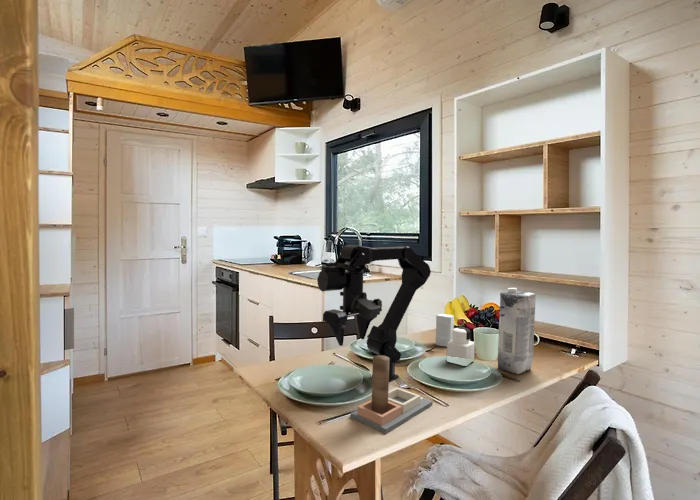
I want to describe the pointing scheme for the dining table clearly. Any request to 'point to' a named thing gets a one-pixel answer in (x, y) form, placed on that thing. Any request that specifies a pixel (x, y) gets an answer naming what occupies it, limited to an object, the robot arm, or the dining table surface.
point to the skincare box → (444, 329)
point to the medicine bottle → (461, 344)
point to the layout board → (392, 410)
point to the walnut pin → (380, 384)
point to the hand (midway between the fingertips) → (351, 342)
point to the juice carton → (516, 330)
